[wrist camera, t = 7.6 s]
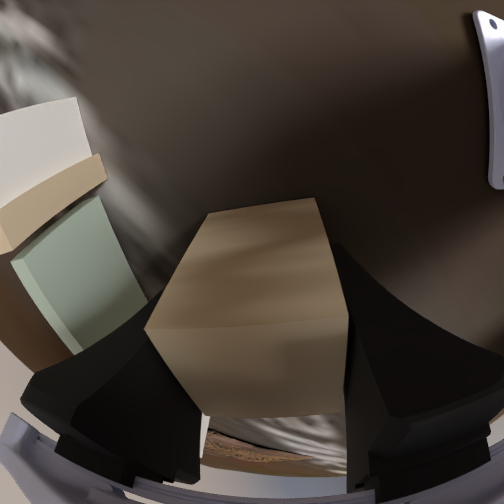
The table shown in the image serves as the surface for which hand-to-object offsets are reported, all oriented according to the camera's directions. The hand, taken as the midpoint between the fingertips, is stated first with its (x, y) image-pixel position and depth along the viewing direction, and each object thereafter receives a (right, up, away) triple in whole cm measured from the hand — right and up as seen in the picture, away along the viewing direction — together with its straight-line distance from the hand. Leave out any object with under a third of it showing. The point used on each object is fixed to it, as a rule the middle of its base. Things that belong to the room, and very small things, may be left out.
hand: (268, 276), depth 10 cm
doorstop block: (0, +1, +1) cm, 2 cm away
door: (-7, -1, +3) cm, 7 cm away
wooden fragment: (-4, -22, +17) cm, 28 cm away
